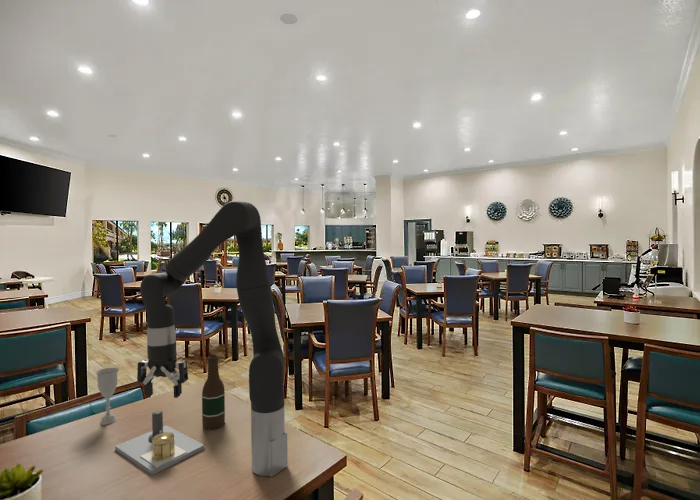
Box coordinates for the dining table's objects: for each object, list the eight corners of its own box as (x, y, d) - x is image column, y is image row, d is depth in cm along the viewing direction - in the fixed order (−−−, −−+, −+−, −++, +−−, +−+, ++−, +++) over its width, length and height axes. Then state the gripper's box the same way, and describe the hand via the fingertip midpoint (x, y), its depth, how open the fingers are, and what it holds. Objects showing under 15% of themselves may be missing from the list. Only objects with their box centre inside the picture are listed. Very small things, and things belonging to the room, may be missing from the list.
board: (204, 448, 116) (204, 419, 116) (152, 475, 103) (151, 442, 103) (166, 428, 129) (165, 401, 128) (115, 449, 116) (114, 420, 115)
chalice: (123, 420, 135) (122, 370, 135) (102, 428, 129) (101, 375, 129) (113, 415, 139) (112, 366, 138) (92, 422, 133) (91, 371, 133)
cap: (166, 461, 107) (166, 444, 107) (146, 460, 107) (146, 443, 107) (179, 447, 114) (178, 431, 114) (160, 447, 114) (160, 431, 114)
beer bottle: (229, 419, 135) (228, 353, 134) (219, 430, 127) (218, 359, 126) (208, 419, 136) (207, 352, 135) (197, 429, 128) (196, 359, 127)
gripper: (130, 344, 107) (131, 401, 107) (177, 345, 106) (179, 402, 106) (146, 337, 114) (148, 390, 115) (191, 338, 113) (193, 391, 113)
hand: (163, 396), depth 110 cm, fingers open, 8 cm apart
